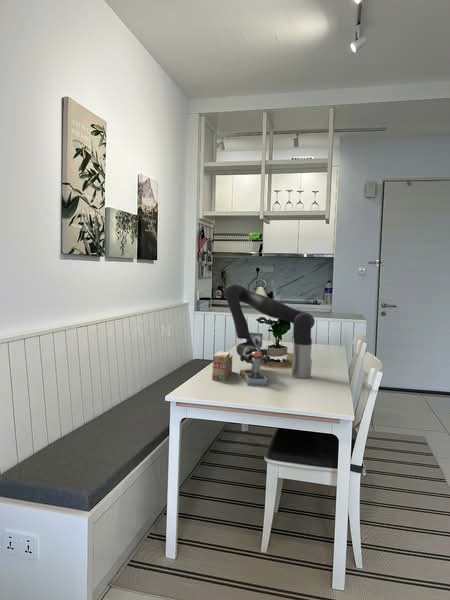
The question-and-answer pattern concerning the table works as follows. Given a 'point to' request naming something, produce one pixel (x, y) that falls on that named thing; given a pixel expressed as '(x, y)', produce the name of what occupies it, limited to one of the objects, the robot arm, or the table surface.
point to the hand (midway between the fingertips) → (257, 361)
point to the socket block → (243, 372)
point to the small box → (256, 339)
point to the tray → (256, 380)
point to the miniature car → (263, 350)
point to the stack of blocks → (221, 365)
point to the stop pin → (256, 364)
